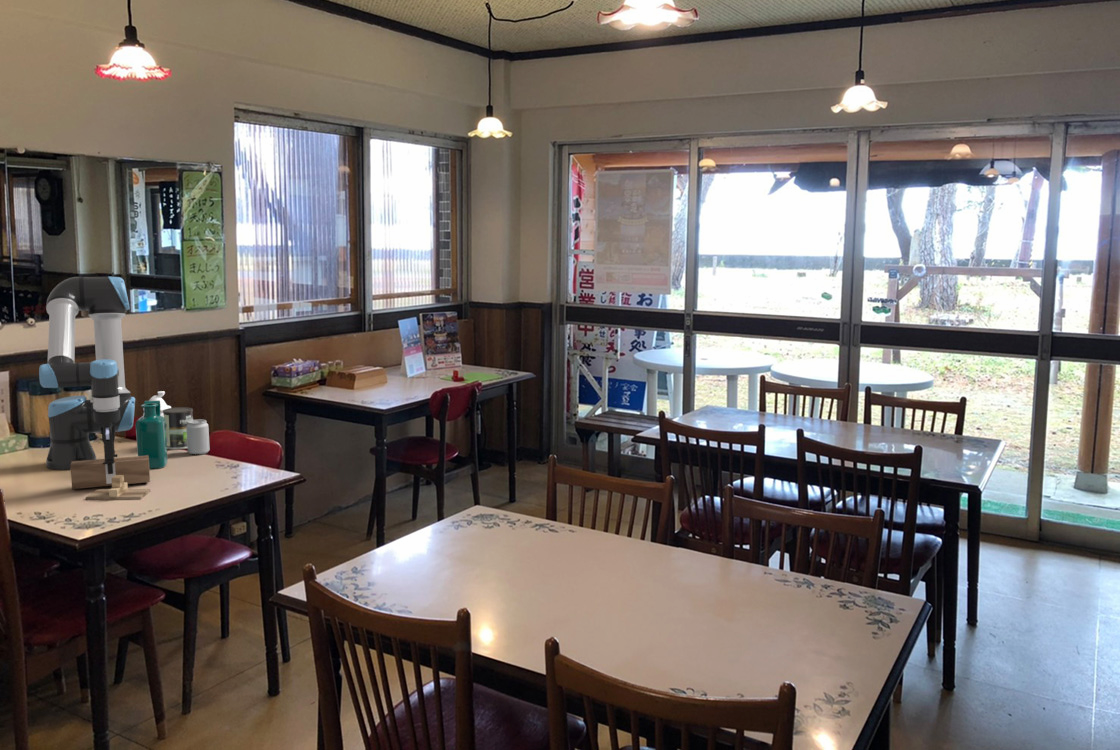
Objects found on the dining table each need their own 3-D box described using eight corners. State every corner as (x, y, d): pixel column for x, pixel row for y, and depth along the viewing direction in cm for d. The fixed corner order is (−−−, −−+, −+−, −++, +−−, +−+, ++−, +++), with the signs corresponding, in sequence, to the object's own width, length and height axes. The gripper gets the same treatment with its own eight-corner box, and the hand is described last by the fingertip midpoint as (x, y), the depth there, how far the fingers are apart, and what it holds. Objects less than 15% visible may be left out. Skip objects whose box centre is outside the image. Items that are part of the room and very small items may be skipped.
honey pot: (177, 432, 355) (175, 388, 352) (174, 440, 343) (171, 394, 340) (142, 434, 351) (139, 389, 348) (138, 441, 339) (135, 395, 336)
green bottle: (164, 468, 303) (160, 405, 300) (137, 469, 301) (133, 406, 298) (169, 461, 313) (165, 399, 309) (143, 462, 311) (139, 400, 307)
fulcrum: (97, 491, 276) (95, 473, 275) (150, 491, 277) (149, 472, 276) (86, 499, 268) (84, 480, 267) (140, 499, 269) (139, 480, 268)
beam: (73, 484, 280) (71, 461, 279) (149, 477, 289) (148, 455, 288) (72, 489, 276) (70, 465, 274) (149, 481, 285) (148, 459, 283)
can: (214, 451, 326) (212, 419, 324) (198, 456, 320) (196, 423, 318) (199, 449, 329) (197, 417, 327) (183, 453, 323) (181, 421, 321)
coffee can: (200, 444, 336) (198, 408, 334) (180, 450, 327) (178, 413, 325) (179, 441, 340) (177, 405, 338) (158, 448, 330) (156, 411, 328)
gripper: (94, 404, 284) (99, 473, 289) (91, 416, 268) (97, 490, 273) (120, 402, 288) (125, 471, 292) (119, 414, 271) (124, 487, 276)
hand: (111, 480), depth 282 cm, fingers closed on beam, 5 cm apart
